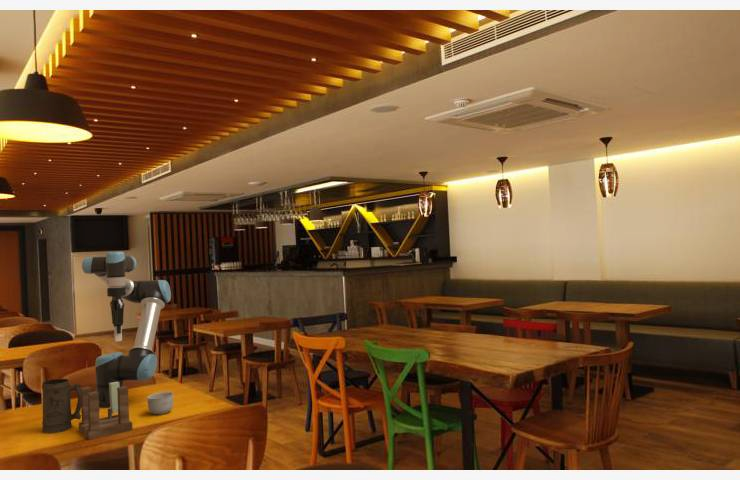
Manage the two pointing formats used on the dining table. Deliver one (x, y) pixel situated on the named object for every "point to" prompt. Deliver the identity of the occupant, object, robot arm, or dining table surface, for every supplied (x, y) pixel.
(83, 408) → the wooden stand
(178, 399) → the dining table surface
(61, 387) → the beer stein
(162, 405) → the teacup
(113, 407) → the hinged leg
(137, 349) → the robot arm
